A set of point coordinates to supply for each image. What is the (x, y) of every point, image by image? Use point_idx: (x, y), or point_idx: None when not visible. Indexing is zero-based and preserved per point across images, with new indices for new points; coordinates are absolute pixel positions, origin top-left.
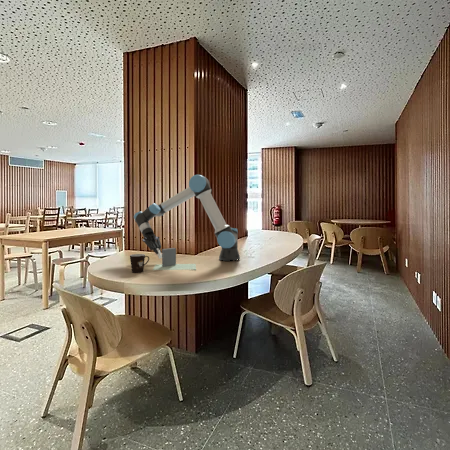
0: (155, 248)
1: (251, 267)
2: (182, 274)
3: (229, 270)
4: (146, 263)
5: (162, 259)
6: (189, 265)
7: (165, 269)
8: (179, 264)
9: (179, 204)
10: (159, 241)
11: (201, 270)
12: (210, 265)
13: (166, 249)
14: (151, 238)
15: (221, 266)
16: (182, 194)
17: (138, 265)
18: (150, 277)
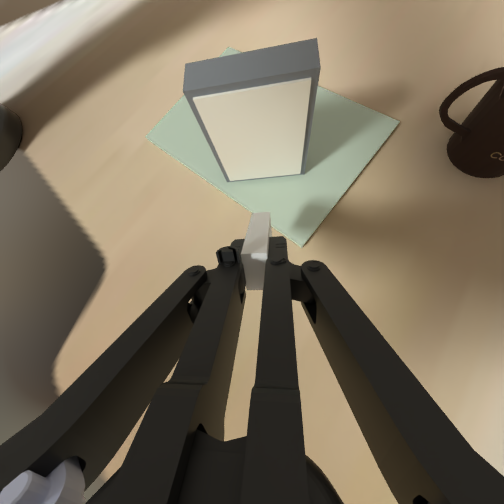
0: (281, 257)
1: (76, 11)
2: (318, 18)
3: (153, 5)
4: (447, 124)
5: (308, 141)
6: (191, 119)
7: (334, 101)
8: (206, 164)
9: None
10: (119, 346)
11: (217, 41)
12: (123, 96)
13: (290, 45)
14: (257, 464)
15: (115, 63)
16: None
17: None
18: (466, 26)
